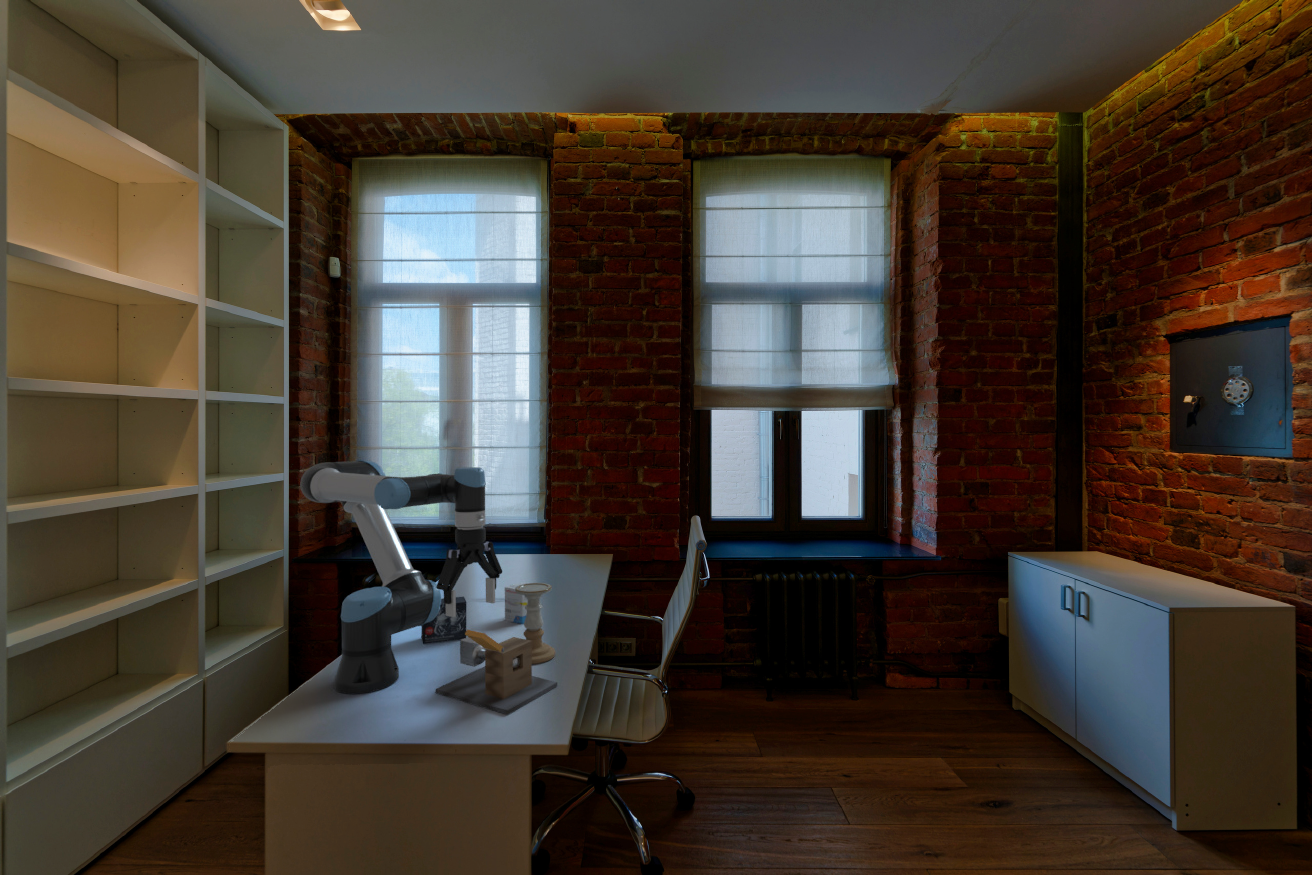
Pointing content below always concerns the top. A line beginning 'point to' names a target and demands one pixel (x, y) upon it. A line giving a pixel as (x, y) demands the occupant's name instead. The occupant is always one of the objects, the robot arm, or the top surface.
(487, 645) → the plate
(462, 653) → the lynch pin
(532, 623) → the candle holder
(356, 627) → the robot arm
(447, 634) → the small box
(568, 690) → the top surface
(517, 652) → the hitch block
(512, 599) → the ink box
